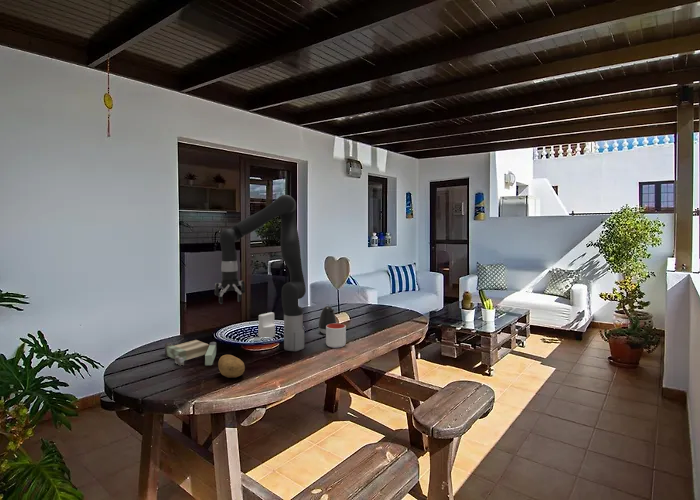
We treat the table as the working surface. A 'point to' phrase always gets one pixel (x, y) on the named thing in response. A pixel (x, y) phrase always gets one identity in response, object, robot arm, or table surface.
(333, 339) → the cup
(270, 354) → the table surface
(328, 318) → the dark grey rounded piece
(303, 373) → the table surface
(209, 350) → the leg
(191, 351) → the stool top
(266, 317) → the base with upright slab
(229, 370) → the potato
